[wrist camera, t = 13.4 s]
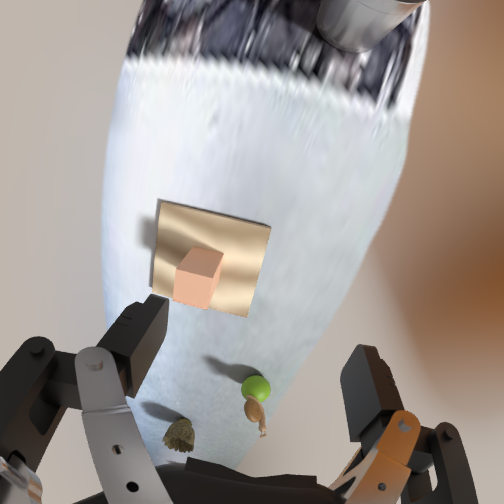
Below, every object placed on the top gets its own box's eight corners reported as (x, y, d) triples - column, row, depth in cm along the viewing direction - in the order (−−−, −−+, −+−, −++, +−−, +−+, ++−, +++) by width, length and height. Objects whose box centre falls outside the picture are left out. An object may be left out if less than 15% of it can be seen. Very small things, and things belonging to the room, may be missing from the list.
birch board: (163, 201, 39) (161, 202, 38) (271, 227, 39) (271, 229, 39) (154, 289, 45) (152, 292, 44) (247, 314, 45) (246, 317, 44)
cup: (202, 430, 60) (196, 455, 52) (175, 426, 60) (167, 450, 53) (196, 414, 57) (188, 440, 49) (167, 410, 58) (158, 435, 50)
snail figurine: (255, 393, 52) (250, 441, 41) (237, 375, 51) (228, 424, 39) (278, 385, 51) (277, 434, 40) (261, 366, 49) (256, 416, 38)
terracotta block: (193, 246, 40) (175, 268, 33) (224, 253, 40) (212, 278, 33) (189, 273, 42) (172, 300, 35) (218, 281, 42) (207, 309, 35)
